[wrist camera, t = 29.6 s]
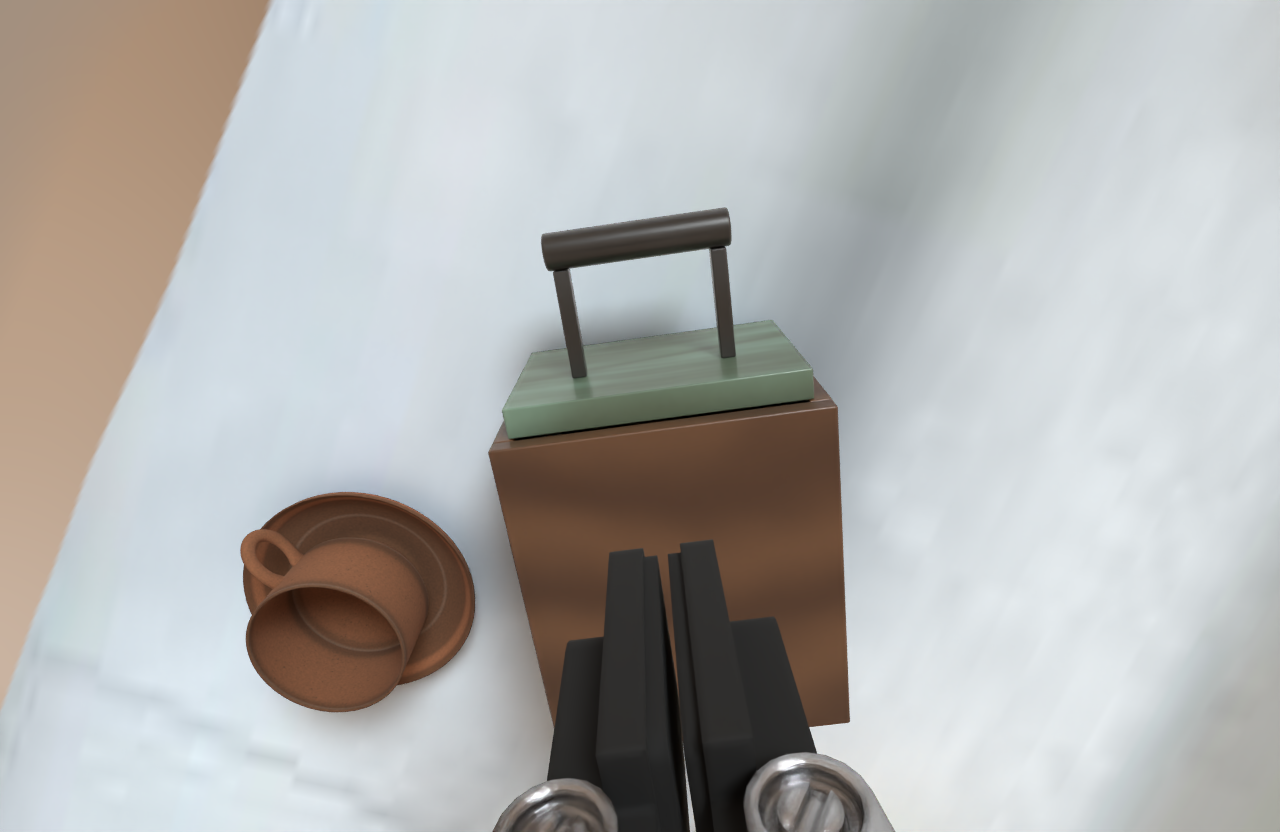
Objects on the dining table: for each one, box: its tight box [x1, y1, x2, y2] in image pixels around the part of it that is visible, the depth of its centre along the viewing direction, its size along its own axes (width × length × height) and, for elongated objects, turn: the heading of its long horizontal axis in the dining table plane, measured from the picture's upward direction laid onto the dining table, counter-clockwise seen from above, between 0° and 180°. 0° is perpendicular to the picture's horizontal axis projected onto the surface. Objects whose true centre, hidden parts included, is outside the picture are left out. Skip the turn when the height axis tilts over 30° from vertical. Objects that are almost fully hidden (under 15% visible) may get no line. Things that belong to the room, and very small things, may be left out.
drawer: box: [502, 208, 814, 439], centre depth 30 cm, size 19×11×8 cm, turn 8°
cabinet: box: [488, 376, 850, 740], centre depth 31 cm, size 15×13×10 cm
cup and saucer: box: [241, 492, 475, 712], centre depth 35 cm, size 12×12×6 cm
